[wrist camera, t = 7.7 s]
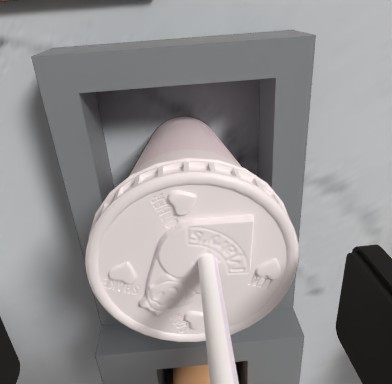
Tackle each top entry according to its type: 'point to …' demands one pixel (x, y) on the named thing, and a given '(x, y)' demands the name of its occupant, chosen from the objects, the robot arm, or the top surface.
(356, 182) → the top surface
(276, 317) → the grey holder
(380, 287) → the robot arm
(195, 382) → the tan mushroom
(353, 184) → the top surface
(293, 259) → the smoothie
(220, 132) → the top surface
